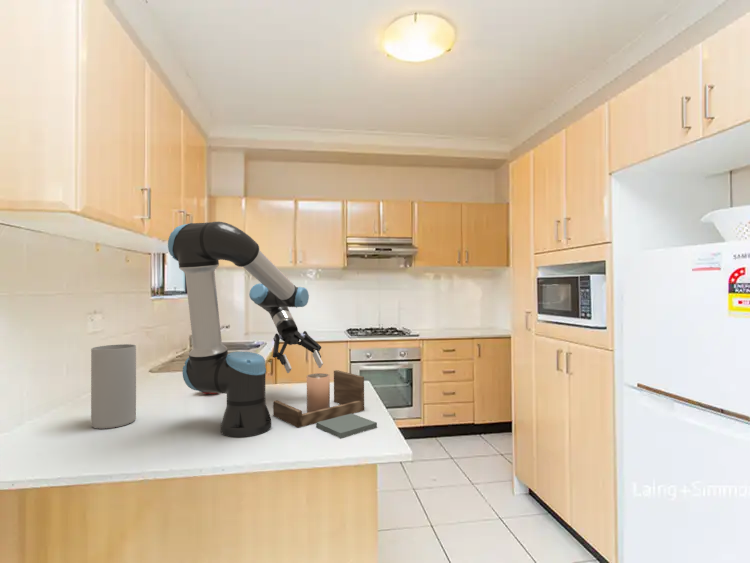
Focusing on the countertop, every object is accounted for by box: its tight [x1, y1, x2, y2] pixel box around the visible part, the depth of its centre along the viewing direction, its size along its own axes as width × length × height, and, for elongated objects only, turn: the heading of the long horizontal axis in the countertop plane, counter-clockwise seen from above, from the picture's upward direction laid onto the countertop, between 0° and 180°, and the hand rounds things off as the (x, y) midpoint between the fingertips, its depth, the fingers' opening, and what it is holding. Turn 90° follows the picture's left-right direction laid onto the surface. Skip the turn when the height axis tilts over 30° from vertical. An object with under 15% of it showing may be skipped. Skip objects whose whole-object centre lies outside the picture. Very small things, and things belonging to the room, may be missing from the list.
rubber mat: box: [315, 413, 378, 439], centre depth 131 cm, size 14×13×2 cm
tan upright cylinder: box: [306, 372, 331, 413], centre depth 146 cm, size 8×8×13 cm
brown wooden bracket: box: [272, 369, 365, 429], centre depth 146 cm, size 27×16×12 cm, turn 131°
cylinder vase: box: [90, 343, 137, 430], centre depth 137 cm, size 12×12×25 cm
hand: (305, 368), depth 154 cm, fingers open, 13 cm apart
